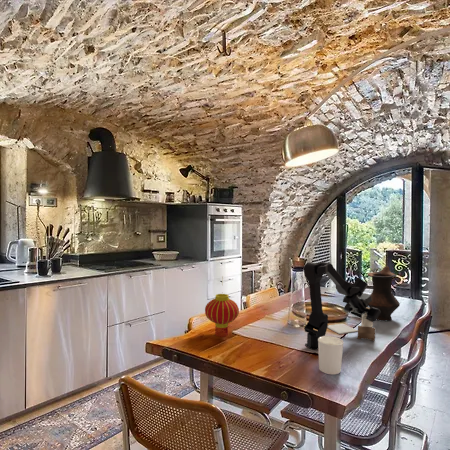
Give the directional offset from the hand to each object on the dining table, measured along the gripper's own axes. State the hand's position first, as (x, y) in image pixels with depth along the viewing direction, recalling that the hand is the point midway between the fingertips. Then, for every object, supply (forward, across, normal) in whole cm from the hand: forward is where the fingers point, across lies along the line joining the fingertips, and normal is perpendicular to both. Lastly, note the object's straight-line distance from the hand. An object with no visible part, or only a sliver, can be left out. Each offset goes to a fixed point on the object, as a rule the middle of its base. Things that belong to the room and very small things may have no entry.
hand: (368, 320), depth 183 cm
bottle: (+4, 0, +6) cm, 7 cm away
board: (0, +11, +10) cm, 15 cm away
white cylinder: (-30, -21, +40) cm, 54 cm away
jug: (+26, +13, -15) cm, 33 cm away
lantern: (-44, +33, +54) cm, 77 cm away
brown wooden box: (0, -4, +10) cm, 11 cm away
